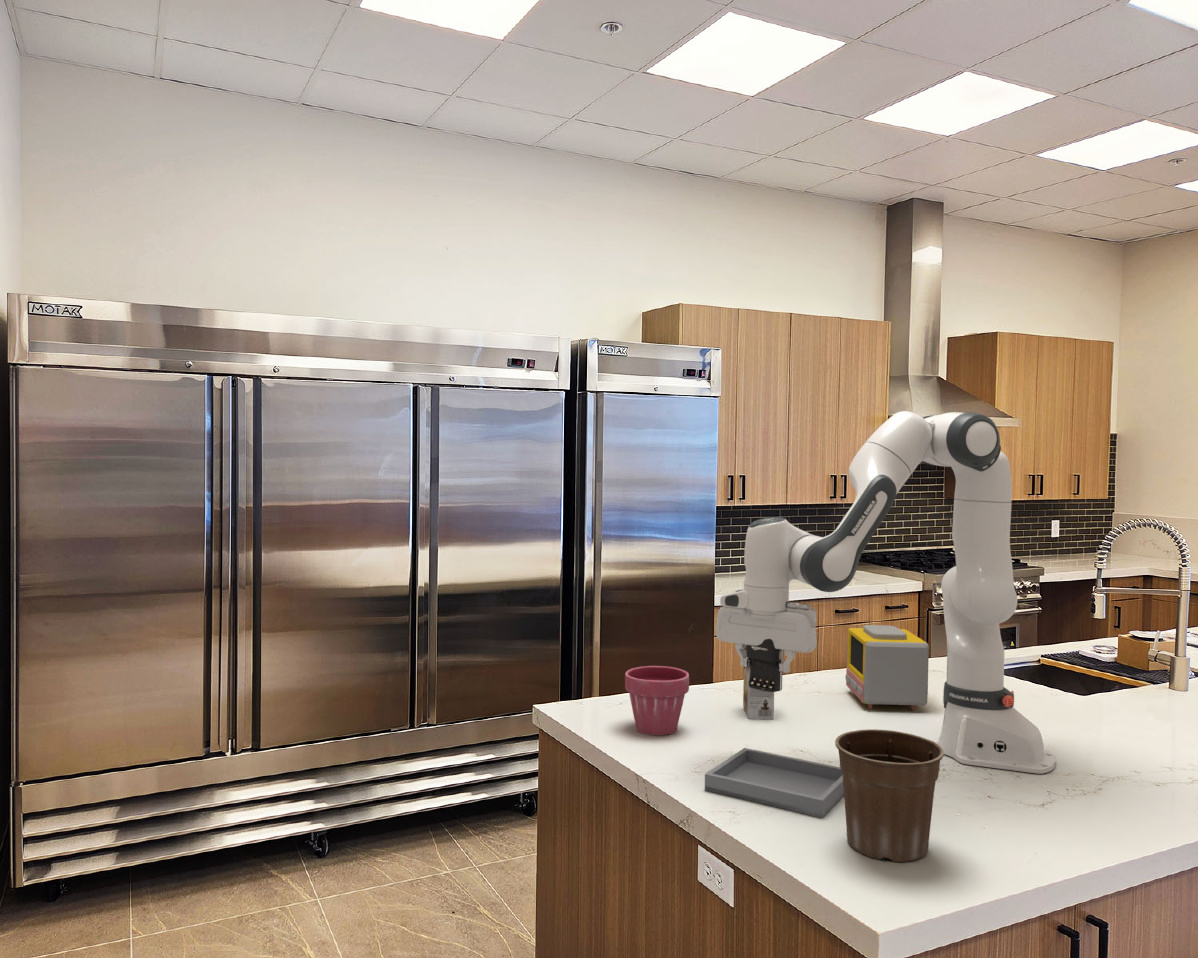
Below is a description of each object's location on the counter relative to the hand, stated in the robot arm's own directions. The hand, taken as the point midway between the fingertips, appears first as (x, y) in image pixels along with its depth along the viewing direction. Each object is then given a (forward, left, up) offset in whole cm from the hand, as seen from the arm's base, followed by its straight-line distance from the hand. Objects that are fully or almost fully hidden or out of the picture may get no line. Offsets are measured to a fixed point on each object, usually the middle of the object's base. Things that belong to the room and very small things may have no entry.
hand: (764, 669), depth 176 cm
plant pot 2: (-31, +24, -19) cm, 43 cm away
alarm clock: (-8, -62, -19) cm, 65 cm away
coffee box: (+14, -33, -19) cm, 41 cm away
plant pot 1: (+28, -8, -19) cm, 35 cm away
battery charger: (0, 0, -4) cm, 4 cm away
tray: (-8, +10, -19) cm, 23 cm away
